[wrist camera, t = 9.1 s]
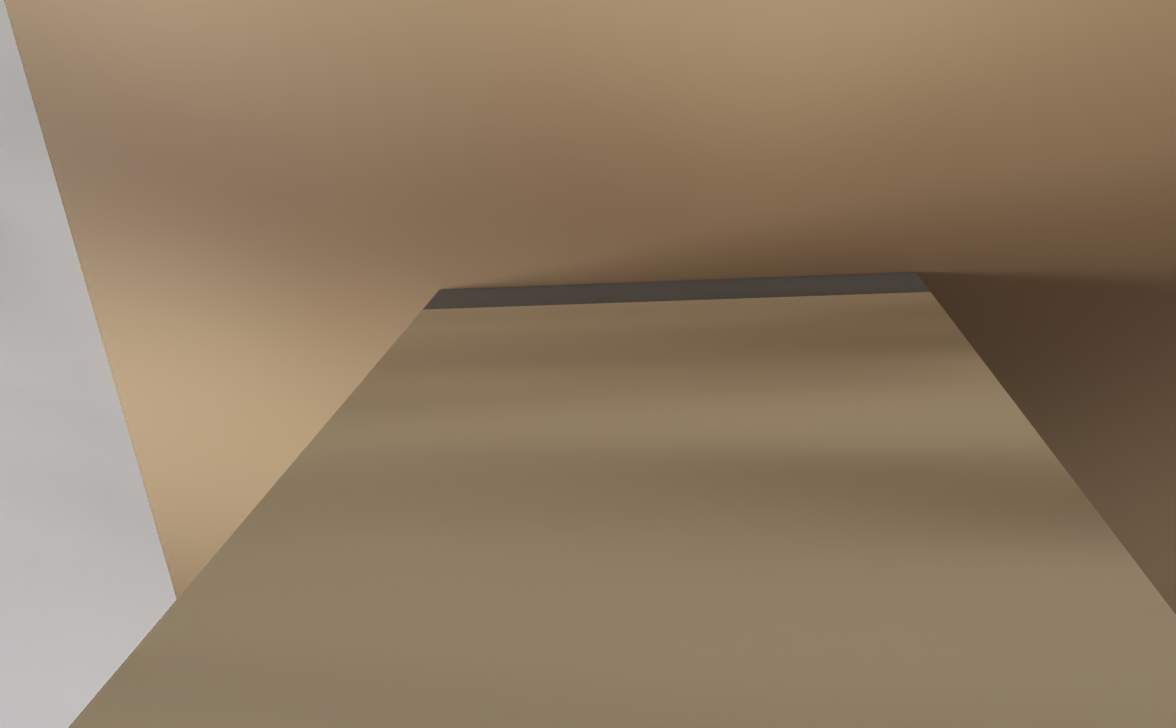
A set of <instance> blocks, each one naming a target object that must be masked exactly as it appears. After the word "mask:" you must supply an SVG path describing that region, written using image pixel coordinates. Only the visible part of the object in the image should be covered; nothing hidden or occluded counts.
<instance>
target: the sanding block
mask: <svg viewBox="0 0 1176 728" xmlns="http://www.w3.org/2000/svg"><path fill="white" fill-rule="evenodd" d="M69 728H1176V614H1175V613H1174V612H1173V610H1172V609H1171V608H1170V606H1169V605H1168V604H1167V603H1166V601H1165V600H1164V599H1163V597H1162V596H1161V595H1160V593H1159V592H1158V591H1157V589H1156V588H1155V587H1154V585H1153V584H1152V583H1151V581H1150V580H1149V579H1148V578H1147V576H1146V575H1145V574H1144V572H1143V571H1142V570H1141V568H1140V567H1139V566H1138V564H1137V563H1136V562H1135V560H1134V559H1133V558H1132V556H1131V555H1130V554H1129V553H1128V551H1127V550H1126V549H1125V547H1124V546H1123V545H1122V543H1121V542H1120V541H1119V539H1118V538H1117V537H1116V535H1115V534H1114V533H1113V531H1112V530H1111V529H1110V527H1109V526H1108V525H1107V524H1106V522H1105V521H1104V520H1103V518H1102V517H1101V516H1100V514H1099V513H1098V512H1097V510H1096V509H1095V508H1094V506H1093V505H1092V504H1091V502H1090V501H1089V500H1088V499H1087V497H1086V496H1085V495H1084V493H1083V492H1082V491H1081V489H1080V488H1079V487H1078V485H1077V484H1076V483H1075V481H1074V480H1073V479H1072V477H1071V476H1070V475H1069V474H1068V472H1067V471H1066V470H1065V468H1064V467H1063V466H1062V464H1061V463H1060V462H1059V460H1058V459H1057V458H1056V456H1055V455H1054V454H1053V452H1052V451H1051V450H1050V449H1049V447H1048V446H1047V445H1046V443H1045V442H1044V441H1043V439H1042V438H1041V437H1040V435H1039V434H1038V433H1037V431H1036V430H1035V429H1034V427H1033V426H1032V425H1031V423H1030V422H1029V421H1028V420H1027V418H1026V417H1025V416H1024V414H1023V413H1022V412H1021V410H1020V409H1019V408H1018V406H1017V405H1016V404H1015V402H1014V401H1013V400H1012V398H1011V397H1010V396H1009V395H1008V393H1007V392H1006V391H1005V389H1004V388H1003V387H1002V385H1001V384H1000V383H999V381H998V380H997V379H996V377H995V376H994V375H993V373H992V372H991V371H990V369H989V368H988V367H987V366H986V364H985V363H984V362H983V360H982V359H981V358H980V356H979V355H978V354H977V352H976V351H975V350H974V348H973V347H972V346H971V344H970V343H969V342H968V341H967V339H966V338H965V337H964V335H963V334H962V333H961V331H960V330H959V329H958V327H957V326H956V325H955V323H954V322H953V321H952V319H951V318H950V317H949V316H948V314H947V313H946V312H945V310H944V309H943V308H942V306H941V305H940V304H939V302H938V301H937V300H936V298H935V297H934V296H933V294H932V293H931V292H930V291H929V289H928V288H927V287H926V285H925V284H924V283H923V281H922V280H921V279H920V277H919V276H918V275H917V273H916V272H903V273H877V274H850V275H824V276H797V277H770V278H744V279H717V280H690V281H664V282H637V283H610V284H584V285H557V286H531V287H504V288H477V289H451V290H439V291H438V292H437V293H436V294H435V296H434V297H433V298H432V299H431V300H430V301H429V303H428V304H427V305H426V306H425V307H424V309H423V310H422V311H421V312H420V313H419V314H418V316H417V317H416V318H415V319H414V320H413V321H412V323H411V324H410V325H409V326H408V327H407V329H406V330H405V331H404V332H403V333H402V334H401V336H400V337H399V338H398V339H397V340H396V342H395V343H394V344H393V345H392V346H391V347H390V349H389V350H388V351H387V352H386V353H385V355H384V356H383V357H382V358H381V359H380V360H379V362H378V363H377V364H376V365H375V366H374V368H373V369H372V370H371V371H370V372H369V373H368V375H367V376H366V377H365V378H364V379H363V381H362V382H361V383H360V384H359V385H358V386H357V388H356V389H355V390H354V391H353V392H352V394H351V395H350V396H349V397H348V398H347V399H346V401H345V402H344V403H343V404H342V405H341V406H340V408H339V409H338V410H337V411H336V412H335V414H334V415H333V416H332V417H331V418H330V419H329V421H328V422H327V423H326V424H325V425H324V427H323V428H322V429H321V430H320V431H319V432H318V434H317V435H316V436H315V437H314V438H313V440H312V441H311V442H310V443H309V444H308V445H307V447H306V448H305V449H304V450H303V451H302V453H301V454H300V455H299V456H298V457H297V458H296V460H295V461H294V462H293V463H292V464H291V466H290V467H289V468H288V469H287V470H286V471H285V473H284V474H283V475H282V476H281V477H280V479H279V480H278V481H277V482H276V483H275V484H274V486H273V487H272V488H271V489H270V490H269V492H268V493H267V494H266V495H265V496H264V497H263V499H262V500H261V501H260V502H259V503H258V504H257V506H256V507H255V508H254V509H253V510H252V512H251V513H250V514H249V515H248V516H247V517H246V519H245V520H244V521H243V522H242V523H241V525H240V526H239V527H238V528H237V529H236V530H235V532H234V533H233V534H232V535H231V536H230V538H229V539H228V540H227V541H226V542H225V543H224V545H223V546H222V547H221V548H220V549H219V551H218V552H217V553H216V554H215V555H214V556H213V558H212V559H211V560H210V561H209V562H208V564H207V565H206V566H205V567H204V568H203V569H202V571H201V572H200V573H199V574H198V575H197V577H196V578H195V579H194V580H193V581H192V582H191V584H190V585H189V586H188V587H187V588H186V589H185V591H184V592H183V593H182V594H181V595H180V597H179V598H178V599H177V600H176V601H175V602H174V604H173V605H172V606H171V607H170V608H169V610H168V611H167V612H166V613H165V614H164V615H163V617H162V618H161V619H160V620H159V621H158V623H157V624H156V625H155V626H154V627H153V628H152V630H151V631H150V632H149V633H148V634H147V636H146V637H145V638H144V639H143V640H142V641H141V643H140V644H139V645H138V646H137V647H136V649H135V650H134V651H133V652H132V653H131V654H130V656H129V657H128V658H127V659H126V660H125V662H124V663H123V664H122V665H121V666H120V667H119V669H118V670H117V671H116V672H115V673H114V675H113V676H112V677H111V678H110V679H109V680H108V682H107V683H106V684H105V685H104V686H103V687H102V689H101V690H100V691H99V692H98V693H97V695H96V696H95V697H94V698H93V699H92V700H91V702H90V703H89V704H88V705H87V706H86V708H85V709H84V710H83V711H82V712H81V713H80V715H79V716H78V717H77V718H76V719H75V721H74V722H73V723H72V724H71V725H70V726H69Z"/></svg>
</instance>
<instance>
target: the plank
mask: <svg viewBox="0 0 1176 728" xmlns="http://www.w3.org/2000/svg"><path fill="white" fill-rule="evenodd" d="M4 2H5V5H6V9H7V12H8V16H9V19H10V23H11V26H12V29H13V33H14V36H15V40H16V43H17V47H18V50H19V54H20V57H21V61H22V64H23V68H24V71H25V75H26V78H27V81H28V85H29V88H30V92H31V95H32V99H33V102H34V106H35V109H36V113H37V116H38V120H39V123H40V127H41V130H42V133H43V137H44V140H45V144H46V147H47V151H48V154H49V158H50V161H51V165H52V168H53V172H54V175H55V179H56V182H57V185H58V189H59V192H60V196H61V199H62V203H63V206H64V210H65V213H66V217H67V220H68V224H69V227H70V231H71V234H72V238H73V241H74V244H75V248H76V251H77V255H78V258H79V262H80V265H81V269H82V272H83V276H84V279H85V283H86V286H87V290H88V293H89V296H90V300H91V303H92V307H93V310H94V314H95V317H96V321H97V324H98V328H99V331H100V335H101V338H102V342H103V345H104V348H105V352H106V355H107V359H108V362H109V366H110V369H111V373H112V376H113V380H114V383H115V387H116V390H117V394H118V397H119V400H120V404H121V407H122V411H123V414H124V418H125V421H126V425H127V428H128V432H129V435H130V439H131V442H132V446H133V449H134V452H135V456H136V459H137V463H138V466H139V470H140V473H141V477H142V480H143V484H144V487H145V491H146V494H147V498H148V501H149V504H150V508H151V511H152V515H153V518H154V522H155V525H156V529H157V532H158V536H159V539H160V543H161V546H162V550H163V553H164V556H165V560H166V563H167V567H168V570H169V574H170V577H171V581H172V584H173V588H174V591H175V595H176V598H177V599H178V598H179V597H180V595H181V594H182V593H183V592H184V591H185V589H186V588H187V587H188V586H189V585H190V584H191V582H192V581H193V580H194V579H195V578H196V577H197V575H198V574H199V573H200V572H201V571H202V569H203V568H204V567H205V566H206V565H207V564H208V562H209V561H210V560H211V559H212V558H213V556H214V555H215V554H216V553H217V552H218V551H219V549H220V548H221V547H222V546H223V545H224V543H225V542H226V541H227V540H228V539H229V538H230V536H231V535H232V534H233V533H234V532H235V530H236V529H237V528H238V527H239V526H240V525H241V523H242V522H243V521H244V520H245V519H246V517H247V516H248V515H249V514H250V513H251V512H252V510H253V509H254V508H255V507H256V506H257V504H258V503H259V502H260V501H261V500H262V499H263V497H264V496H265V495H266V494H267V493H268V492H269V490H270V489H271V488H272V487H273V486H274V484H275V483H276V482H277V481H278V480H279V479H280V477H281V476H282V475H283V474H284V473H285V471H286V470H287V469H288V468H289V467H290V466H291V464H292V463H293V462H294V461H295V460H296V458H297V457H298V456H299V455H300V454H301V453H302V451H303V450H304V449H305V448H306V447H307V445H308V444H309V443H310V442H311V441H312V440H313V438H314V437H315V436H316V435H317V434H318V432H319V431H320V430H321V429H322V428H323V427H324V425H325V424H326V423H327V422H328V421H329V419H330V418H331V417H332V416H333V415H334V414H335V412H336V411H337V410H338V409H339V408H340V406H341V405H342V404H343V403H344V402H345V401H346V399H347V398H348V397H349V396H350V395H351V394H352V392H353V391H354V390H355V389H356V388H357V386H358V385H359V384H360V383H361V382H362V381H363V379H364V378H365V377H366V376H367V375H368V373H369V372H370V371H371V370H372V369H373V368H374V366H375V365H376V364H377V363H378V362H379V360H380V359H381V358H382V357H383V356H384V355H385V353H386V352H387V351H388V350H389V349H390V347H391V346H392V345H393V344H394V343H395V342H396V340H397V339H398V338H399V337H400V336H401V334H402V333H403V332H404V331H405V330H406V329H407V327H408V326H409V325H410V324H411V323H412V321H413V320H414V319H415V318H416V317H417V316H418V314H419V313H420V312H421V311H422V310H423V309H424V307H425V306H426V305H427V304H428V303H429V301H430V300H431V299H432V298H433V297H434V296H435V294H436V293H437V292H438V291H439V290H451V289H477V288H504V287H531V286H557V285H584V284H610V283H637V282H664V281H690V280H717V279H744V278H770V277H797V276H824V275H850V274H877V273H903V272H916V273H917V275H918V276H919V277H920V279H921V280H922V281H923V283H924V284H925V285H926V287H927V288H928V289H929V291H930V292H931V293H932V294H933V296H934V297H935V298H936V300H937V301H938V302H939V304H940V305H941V306H942V308H943V309H944V310H945V312H946V313H947V314H948V316H949V317H950V318H951V319H952V321H953V322H954V323H955V325H956V326H957V327H958V329H959V330H960V331H961V333H962V334H963V335H964V337H965V338H966V339H967V341H968V342H969V343H970V344H971V346H972V347H973V348H974V350H975V351H976V352H977V354H978V355H979V356H980V358H981V359H982V360H983V362H984V363H985V364H986V366H987V367H988V368H989V369H990V371H991V372H992V373H993V375H994V376H995V377H996V379H997V380H998V381H999V383H1000V384H1001V385H1002V387H1003V388H1004V389H1005V391H1006V392H1007V393H1008V395H1009V396H1010V397H1011V398H1012V400H1013V401H1014V402H1015V404H1016V405H1017V406H1018V408H1019V409H1020V410H1021V412H1022V413H1023V414H1024V416H1025V417H1026V418H1027V420H1028V421H1029V422H1030V423H1031V425H1032V426H1033V427H1034V429H1035V430H1036V431H1037V433H1038V434H1039V435H1040V437H1041V438H1042V439H1043V441H1044V442H1045V443H1046V445H1047V446H1048V447H1049V449H1050V450H1051V451H1052V452H1053V454H1054V455H1055V456H1056V458H1057V459H1058V460H1059V462H1060V463H1061V464H1062V466H1063V467H1064V468H1065V470H1066V471H1067V472H1068V474H1069V475H1070V476H1071V477H1072V479H1073V480H1074V481H1075V483H1076V484H1077V485H1078V487H1079V488H1080V489H1081V491H1082V492H1083V493H1084V495H1085V496H1086V497H1087V499H1088V500H1089V501H1090V502H1091V504H1092V505H1093V506H1094V508H1095V509H1096V510H1097V512H1098V513H1099V514H1100V516H1101V517H1102V518H1103V520H1104V521H1105V522H1106V524H1107V525H1108V526H1109V527H1110V529H1111V530H1112V531H1113V533H1114V534H1115V535H1116V537H1117V538H1118V539H1119V541H1120V542H1121V543H1122V545H1123V546H1124V547H1125V549H1126V550H1127V551H1128V553H1129V554H1130V555H1131V556H1132V558H1133V559H1134V560H1135V562H1136V563H1137V564H1138V566H1139V567H1140V568H1141V570H1142V571H1143V572H1144V574H1145V575H1146V576H1147V578H1148V579H1149V580H1150V581H1151V583H1152V584H1153V585H1154V587H1155V588H1156V589H1157V591H1158V592H1159V593H1160V595H1161V596H1162V597H1163V599H1164V600H1165V601H1166V603H1167V604H1168V605H1169V606H1170V608H1171V609H1172V610H1173V612H1174V613H1175V614H1176V0H4Z"/></svg>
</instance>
